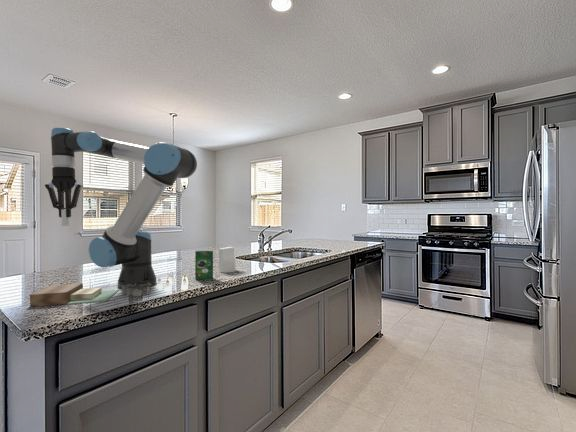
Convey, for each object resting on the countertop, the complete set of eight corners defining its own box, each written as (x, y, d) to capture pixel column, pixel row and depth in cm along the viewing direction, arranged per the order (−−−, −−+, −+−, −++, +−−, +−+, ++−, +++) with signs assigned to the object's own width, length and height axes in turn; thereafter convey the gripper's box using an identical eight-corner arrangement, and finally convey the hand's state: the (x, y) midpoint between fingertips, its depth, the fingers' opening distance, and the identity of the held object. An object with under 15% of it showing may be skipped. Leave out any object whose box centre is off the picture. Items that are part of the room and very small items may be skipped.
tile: (101, 292, 123) (101, 287, 123) (92, 298, 114) (92, 293, 114) (81, 293, 121) (81, 288, 121) (70, 300, 112) (70, 294, 112)
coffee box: (213, 277, 149) (212, 249, 149) (213, 278, 147) (213, 250, 146) (195, 279, 147) (194, 250, 147) (195, 280, 144) (194, 251, 144)
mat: (118, 290, 127) (118, 289, 127) (106, 301, 112) (106, 300, 112) (85, 292, 125) (85, 291, 125) (67, 304, 109) (67, 303, 109)
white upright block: (227, 273, 160) (226, 249, 159) (214, 271, 164) (213, 248, 164) (239, 270, 167) (238, 247, 167) (226, 268, 172) (225, 246, 172)
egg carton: (153, 293, 123) (152, 283, 123) (134, 298, 117) (134, 287, 117) (137, 289, 129) (137, 279, 129) (119, 293, 123) (118, 283, 123)
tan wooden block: (83, 293, 123) (82, 283, 123) (67, 303, 110) (66, 292, 110) (50, 295, 121) (50, 285, 121) (30, 306, 107) (29, 294, 107)
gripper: (85, 168, 134) (86, 224, 134) (49, 168, 130) (51, 225, 131) (78, 166, 126) (79, 225, 127) (40, 165, 123) (42, 226, 124)
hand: (65, 225), depth 129 cm, fingers closed
